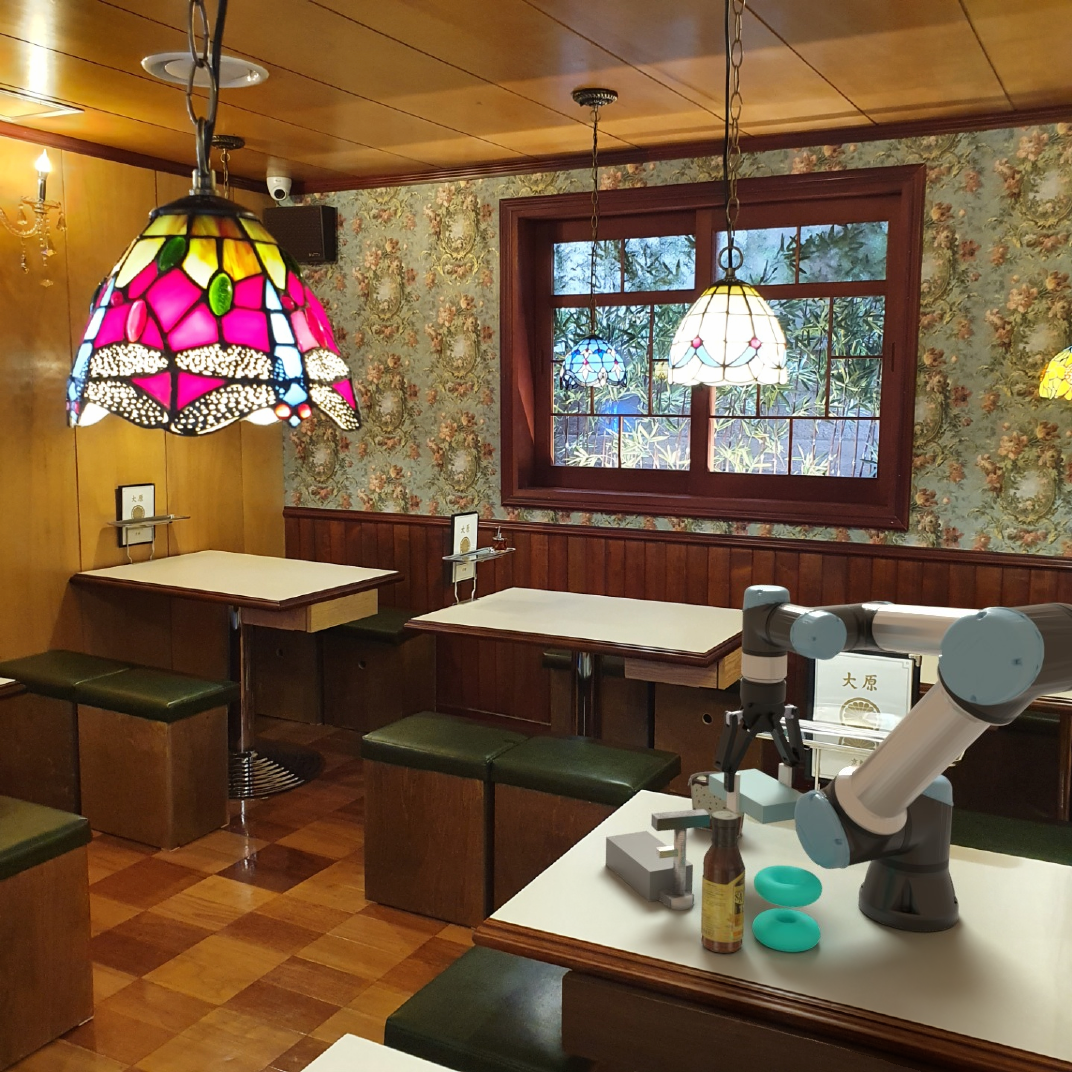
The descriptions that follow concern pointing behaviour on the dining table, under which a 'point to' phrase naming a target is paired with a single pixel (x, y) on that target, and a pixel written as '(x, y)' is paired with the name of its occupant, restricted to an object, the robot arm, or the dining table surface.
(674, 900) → the case
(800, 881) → the donuts
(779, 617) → the robot arm
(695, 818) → the key
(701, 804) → the food container
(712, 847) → the sauce bottle
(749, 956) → the dining table surface
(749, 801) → the cover
